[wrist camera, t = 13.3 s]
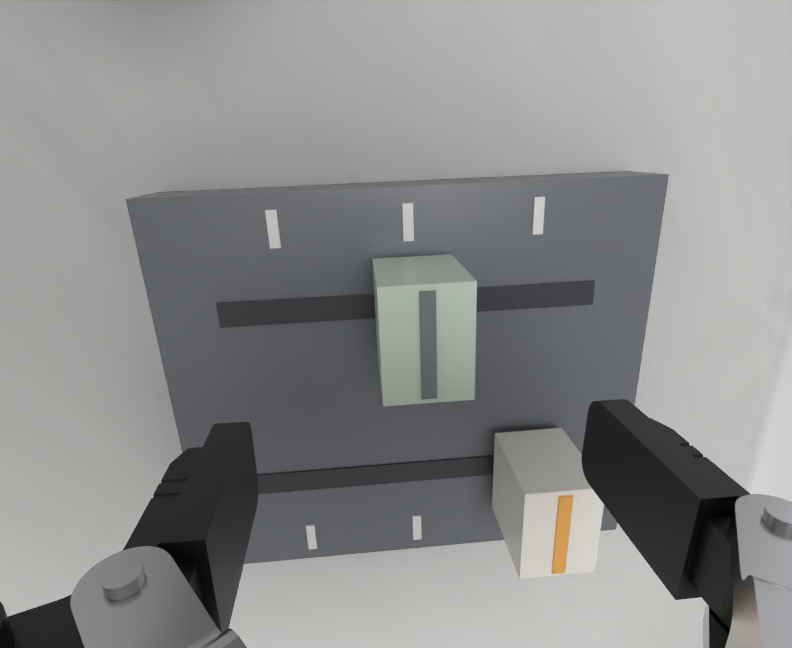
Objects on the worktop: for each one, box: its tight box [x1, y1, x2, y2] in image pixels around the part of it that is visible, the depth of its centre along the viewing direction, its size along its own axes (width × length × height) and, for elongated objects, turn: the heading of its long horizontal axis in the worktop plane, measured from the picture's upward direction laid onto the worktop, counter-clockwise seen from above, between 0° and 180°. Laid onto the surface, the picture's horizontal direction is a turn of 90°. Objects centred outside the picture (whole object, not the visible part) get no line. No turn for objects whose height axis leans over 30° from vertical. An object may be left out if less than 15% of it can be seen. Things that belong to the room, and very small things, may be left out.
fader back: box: [492, 428, 604, 579], centre depth 20 cm, size 3×4×4 cm
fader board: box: [126, 171, 669, 564], centre depth 22 cm, size 20×17×3 cm
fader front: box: [372, 254, 477, 406], centre depth 17 cm, size 3×4×4 cm
